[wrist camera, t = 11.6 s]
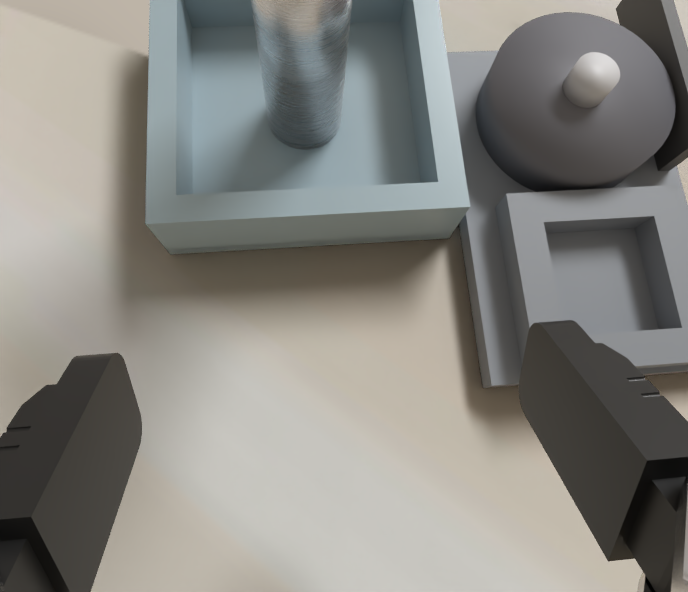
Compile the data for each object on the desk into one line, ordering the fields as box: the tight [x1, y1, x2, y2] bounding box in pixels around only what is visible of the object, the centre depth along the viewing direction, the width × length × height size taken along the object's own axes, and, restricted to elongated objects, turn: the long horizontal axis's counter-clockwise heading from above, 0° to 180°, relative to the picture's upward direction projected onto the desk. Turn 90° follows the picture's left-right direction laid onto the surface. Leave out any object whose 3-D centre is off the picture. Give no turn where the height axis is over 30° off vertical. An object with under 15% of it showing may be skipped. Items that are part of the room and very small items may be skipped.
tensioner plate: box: [447, 0, 688, 388], centre depth 19 cm, size 9×16×4 cm, turn 5°
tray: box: [145, 0, 470, 254], centre depth 20 cm, size 11×11×3 cm
